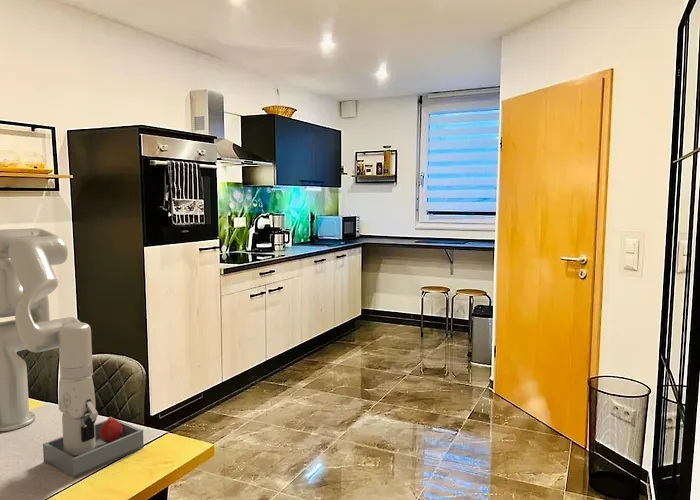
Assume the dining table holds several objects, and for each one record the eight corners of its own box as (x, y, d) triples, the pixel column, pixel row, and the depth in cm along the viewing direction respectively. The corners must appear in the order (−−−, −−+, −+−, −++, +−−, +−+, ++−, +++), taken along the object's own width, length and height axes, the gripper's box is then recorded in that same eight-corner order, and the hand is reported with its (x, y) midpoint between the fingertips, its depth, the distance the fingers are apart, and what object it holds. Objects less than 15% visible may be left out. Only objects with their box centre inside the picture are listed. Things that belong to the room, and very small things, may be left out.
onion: (100, 441, 147) (99, 414, 146) (123, 437, 149) (122, 411, 148) (99, 450, 141) (98, 422, 140) (122, 447, 143) (121, 419, 143)
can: (82, 460, 133) (80, 415, 132) (57, 456, 134) (54, 412, 133) (102, 446, 140) (100, 403, 139) (77, 443, 142) (75, 400, 140)
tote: (43, 462, 137) (42, 443, 136) (113, 433, 153) (112, 417, 152) (73, 479, 129) (73, 459, 128) (143, 447, 145) (143, 430, 144)
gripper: (44, 368, 137) (47, 432, 138) (80, 381, 127) (83, 450, 129) (72, 360, 143) (75, 422, 145) (109, 373, 133) (111, 439, 135)
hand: (79, 435), depth 137 cm, fingers closed on can, 7 cm apart
